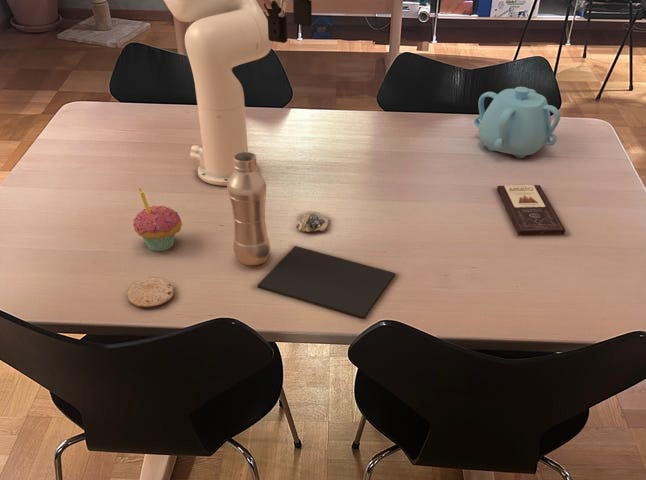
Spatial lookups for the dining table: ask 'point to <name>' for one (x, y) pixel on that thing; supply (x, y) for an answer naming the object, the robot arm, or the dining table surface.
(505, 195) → the chocolate bar
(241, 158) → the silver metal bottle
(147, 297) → the flatbread
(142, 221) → the cupcake
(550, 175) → the dining table surface
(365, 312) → the mat
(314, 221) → the mineral rock
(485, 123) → the decorative pot
